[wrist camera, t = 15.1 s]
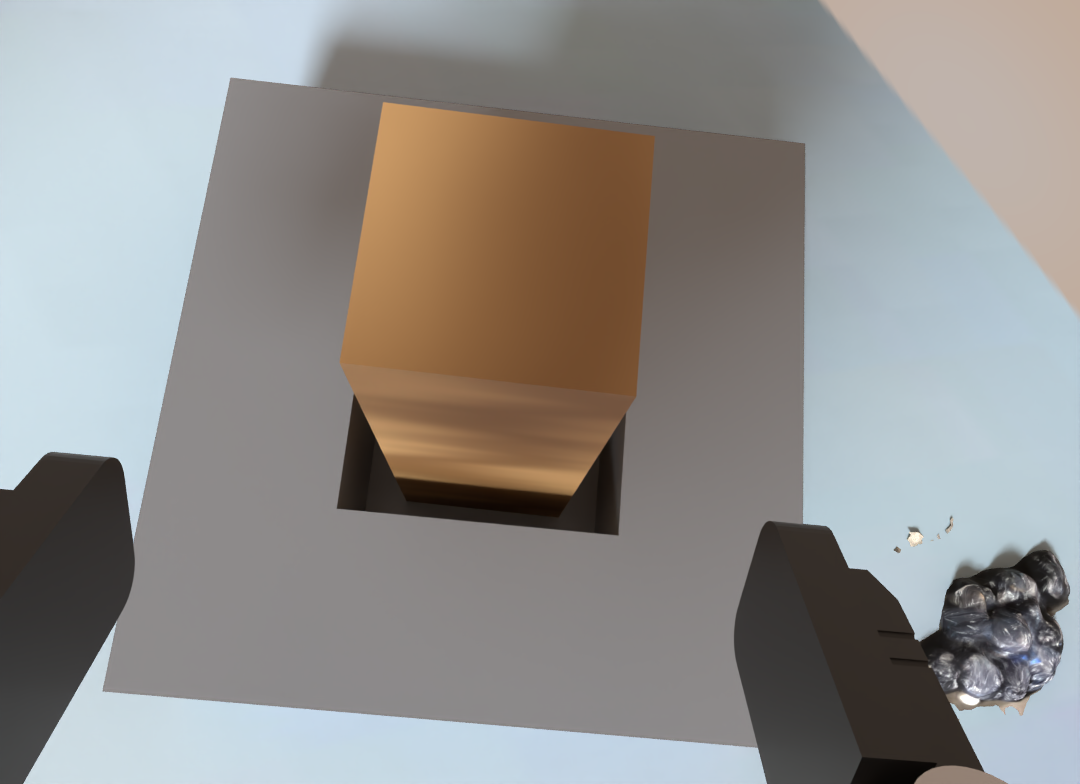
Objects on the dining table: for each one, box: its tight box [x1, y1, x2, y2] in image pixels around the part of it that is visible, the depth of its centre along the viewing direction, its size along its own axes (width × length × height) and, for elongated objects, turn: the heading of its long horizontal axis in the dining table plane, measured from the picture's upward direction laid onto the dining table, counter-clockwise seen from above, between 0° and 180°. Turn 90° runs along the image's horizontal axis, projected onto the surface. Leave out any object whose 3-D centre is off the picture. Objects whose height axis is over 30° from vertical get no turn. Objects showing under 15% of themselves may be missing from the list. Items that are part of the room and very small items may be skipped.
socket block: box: [103, 78, 805, 748], centre depth 22 cm, size 14×14×5 cm
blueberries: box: [894, 518, 1070, 720], centre depth 24 cm, size 7×8×2 cm
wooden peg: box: [339, 102, 655, 518], centre depth 18 cm, size 4×4×12 cm
